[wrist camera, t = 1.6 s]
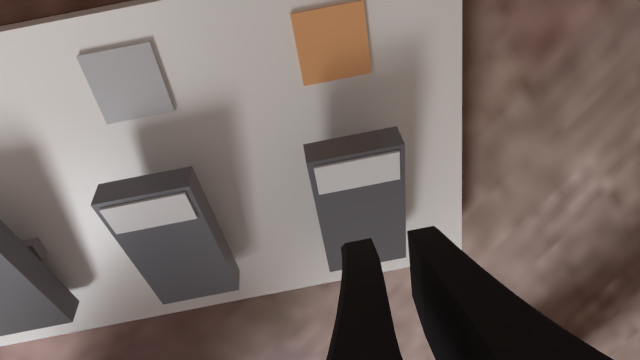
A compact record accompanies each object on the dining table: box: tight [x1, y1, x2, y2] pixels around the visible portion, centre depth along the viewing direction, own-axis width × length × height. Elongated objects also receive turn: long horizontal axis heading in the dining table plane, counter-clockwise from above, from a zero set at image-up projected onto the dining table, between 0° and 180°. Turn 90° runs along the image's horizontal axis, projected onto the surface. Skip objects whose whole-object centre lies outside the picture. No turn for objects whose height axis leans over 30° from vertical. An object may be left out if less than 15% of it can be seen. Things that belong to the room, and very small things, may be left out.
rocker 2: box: [91, 166, 240, 305], centre depth 16 cm, size 6×3×1 cm, turn 10°
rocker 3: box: [303, 126, 406, 272], centre depth 16 cm, size 6×3×1 cm, turn 10°
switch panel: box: [0, 0, 462, 346], centre depth 17 cm, size 13×23×2 cm, turn 100°
